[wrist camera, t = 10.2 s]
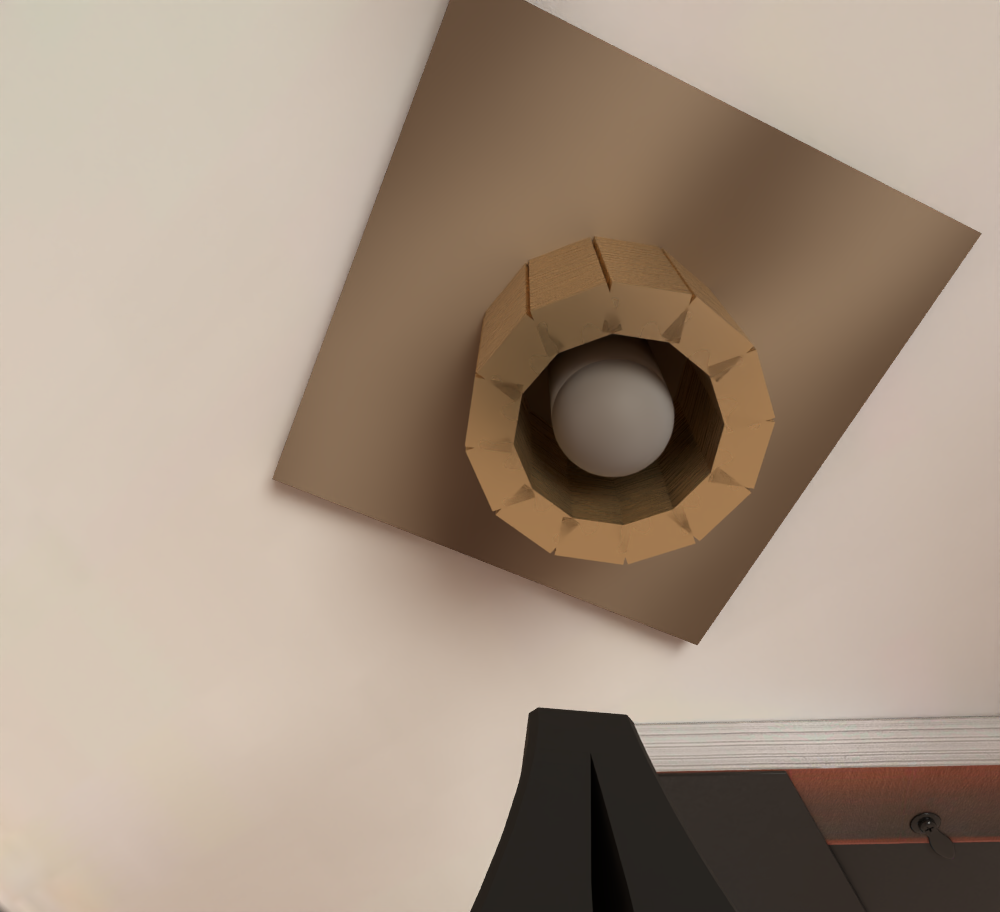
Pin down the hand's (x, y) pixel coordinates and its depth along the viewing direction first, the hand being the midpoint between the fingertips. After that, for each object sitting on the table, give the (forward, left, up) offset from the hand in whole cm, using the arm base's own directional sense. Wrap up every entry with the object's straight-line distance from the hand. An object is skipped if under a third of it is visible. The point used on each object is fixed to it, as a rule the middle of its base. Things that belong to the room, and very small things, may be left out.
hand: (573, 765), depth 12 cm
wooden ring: (0, -3, -10) cm, 10 cm away
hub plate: (0, -3, -10) cm, 11 cm away
